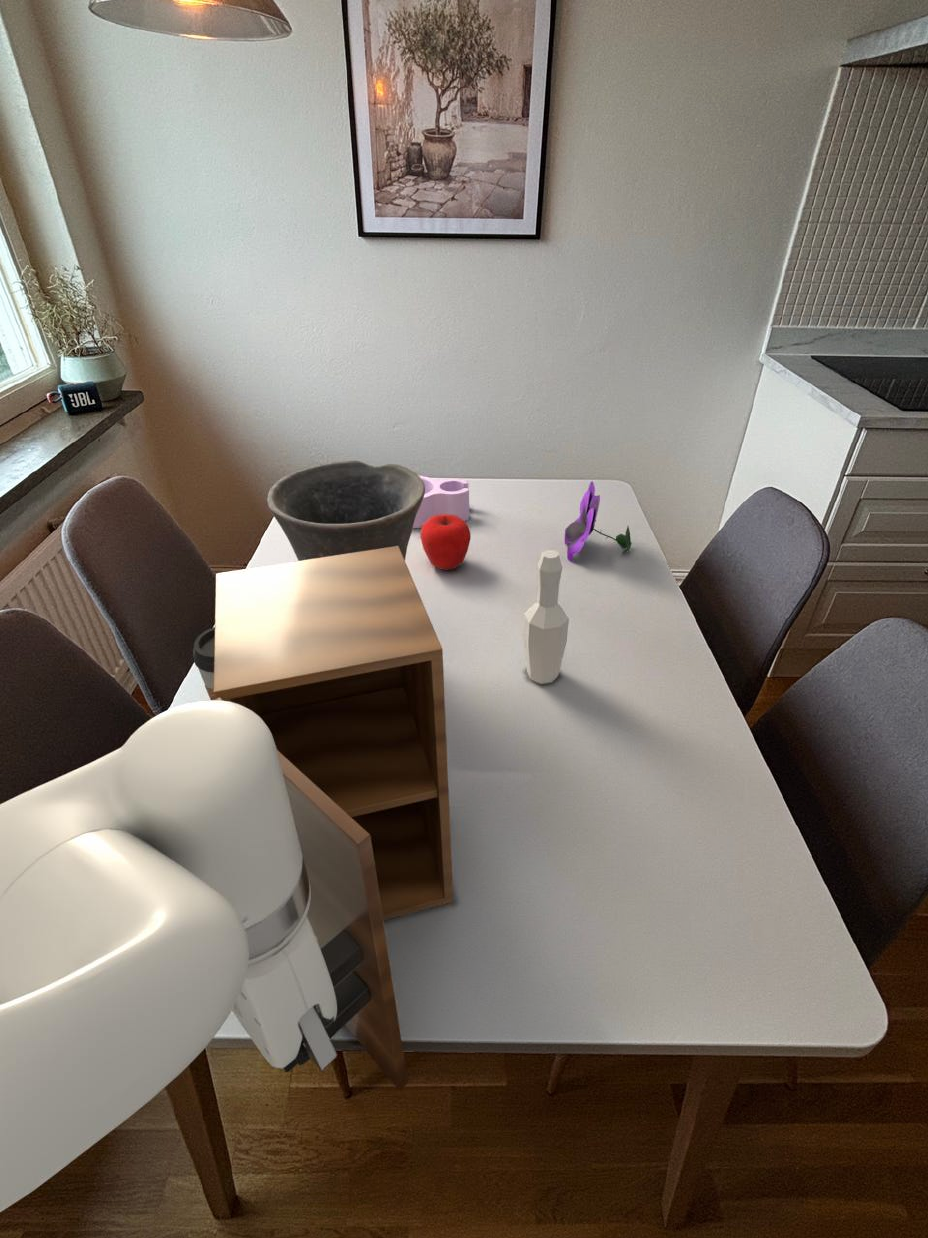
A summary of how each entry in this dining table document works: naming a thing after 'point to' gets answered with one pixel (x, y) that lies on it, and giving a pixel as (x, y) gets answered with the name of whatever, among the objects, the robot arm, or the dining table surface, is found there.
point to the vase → (346, 508)
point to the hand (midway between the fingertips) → (292, 1037)
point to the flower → (589, 525)
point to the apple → (445, 540)
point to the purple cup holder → (443, 499)
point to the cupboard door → (347, 921)
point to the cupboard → (350, 701)
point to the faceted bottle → (546, 623)
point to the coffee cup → (206, 659)
